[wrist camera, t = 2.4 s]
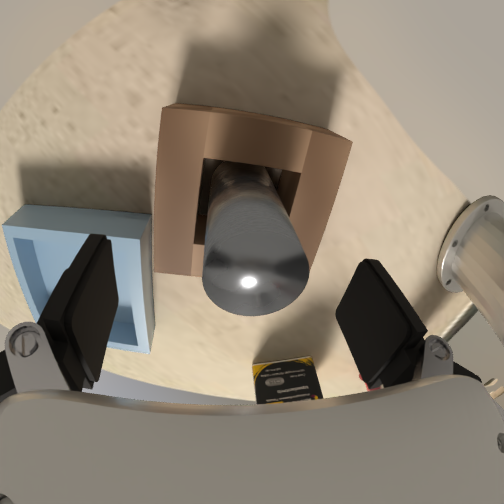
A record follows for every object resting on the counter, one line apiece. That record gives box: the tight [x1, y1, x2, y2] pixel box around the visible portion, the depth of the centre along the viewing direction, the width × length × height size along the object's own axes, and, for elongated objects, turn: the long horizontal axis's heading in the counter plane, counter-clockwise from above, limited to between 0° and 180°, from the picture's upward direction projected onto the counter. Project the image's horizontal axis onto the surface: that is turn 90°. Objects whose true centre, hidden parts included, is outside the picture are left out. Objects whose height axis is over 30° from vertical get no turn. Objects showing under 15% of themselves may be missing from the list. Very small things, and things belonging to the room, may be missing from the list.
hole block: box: [154, 103, 353, 277], centre depth 17 cm, size 10×10×4 cm
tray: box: [2, 205, 155, 354], centre depth 20 cm, size 12×12×4 cm
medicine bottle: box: [252, 356, 323, 404], centre depth 27 cm, size 7×7×12 cm
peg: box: [202, 160, 309, 316], centre depth 14 cm, size 4×4×10 cm
